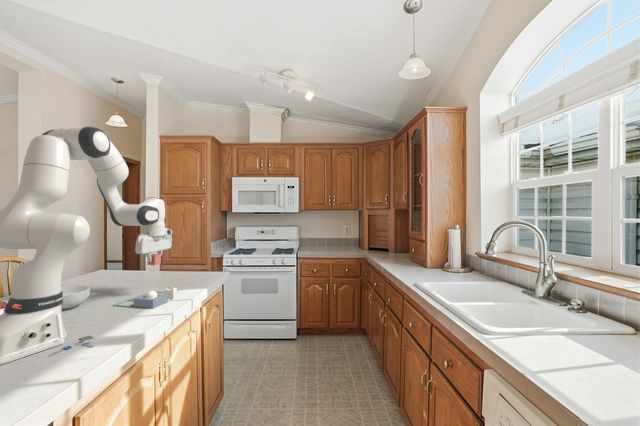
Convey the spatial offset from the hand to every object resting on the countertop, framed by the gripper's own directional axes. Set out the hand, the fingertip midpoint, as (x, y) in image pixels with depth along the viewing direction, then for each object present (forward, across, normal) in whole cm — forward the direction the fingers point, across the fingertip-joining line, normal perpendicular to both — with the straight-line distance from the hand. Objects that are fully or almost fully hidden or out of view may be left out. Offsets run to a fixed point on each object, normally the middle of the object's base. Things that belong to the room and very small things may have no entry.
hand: (154, 260), depth 146 cm
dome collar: (+16, -14, -10) cm, 23 cm away
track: (+16, -8, 0) cm, 18 cm away
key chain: (+16, -53, -18) cm, 58 cm away
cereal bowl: (+16, -26, +21) cm, 37 cm away
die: (+16, -3, -11) cm, 20 cm away
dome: (+15, -14, -10) cm, 23 cm away
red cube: (+2, 0, 0) cm, 2 cm away
